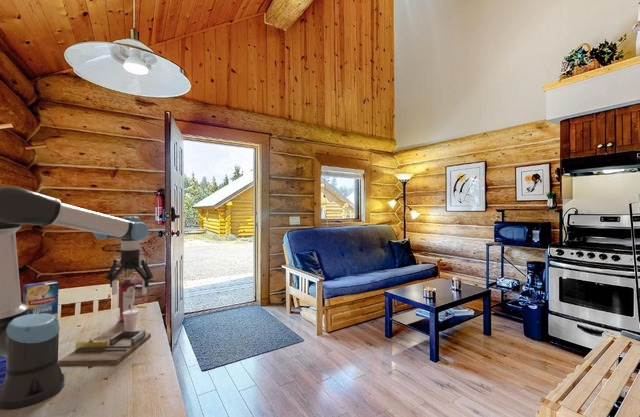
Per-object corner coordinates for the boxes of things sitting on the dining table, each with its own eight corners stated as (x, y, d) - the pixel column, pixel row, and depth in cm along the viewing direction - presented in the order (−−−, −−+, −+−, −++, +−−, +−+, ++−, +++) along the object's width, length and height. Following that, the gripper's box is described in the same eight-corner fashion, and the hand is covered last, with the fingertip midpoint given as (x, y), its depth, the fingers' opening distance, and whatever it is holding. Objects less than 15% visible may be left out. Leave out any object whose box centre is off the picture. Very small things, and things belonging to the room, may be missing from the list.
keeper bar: (104, 349, 117) (104, 339, 117) (75, 350, 116) (75, 340, 116) (107, 347, 119) (107, 337, 119) (78, 348, 118) (79, 338, 118)
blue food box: (57, 328, 141) (58, 282, 141) (25, 336, 132) (27, 287, 132) (53, 325, 145) (54, 280, 145) (21, 332, 136) (23, 285, 136)
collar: (134, 344, 122) (134, 338, 122) (109, 344, 121) (109, 338, 121) (145, 335, 131) (145, 330, 131) (122, 335, 130) (122, 330, 130)
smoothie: (130, 335, 134) (130, 305, 134) (118, 334, 135) (119, 304, 135) (141, 330, 140) (141, 301, 140) (130, 329, 141) (130, 300, 141)
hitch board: (116, 364, 109) (117, 358, 109) (58, 364, 108) (58, 359, 108) (150, 336, 133) (150, 332, 133) (102, 337, 132) (103, 332, 132)
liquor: (130, 316, 158) (131, 264, 158) (137, 319, 154) (138, 265, 155) (115, 320, 152) (116, 266, 152) (122, 323, 148) (123, 268, 148)
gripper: (161, 248, 143) (160, 291, 142) (107, 248, 141) (107, 292, 141) (153, 250, 135) (152, 296, 135) (97, 250, 133) (96, 296, 133)
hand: (129, 294), depth 138 cm, fingers open, 13 cm apart
